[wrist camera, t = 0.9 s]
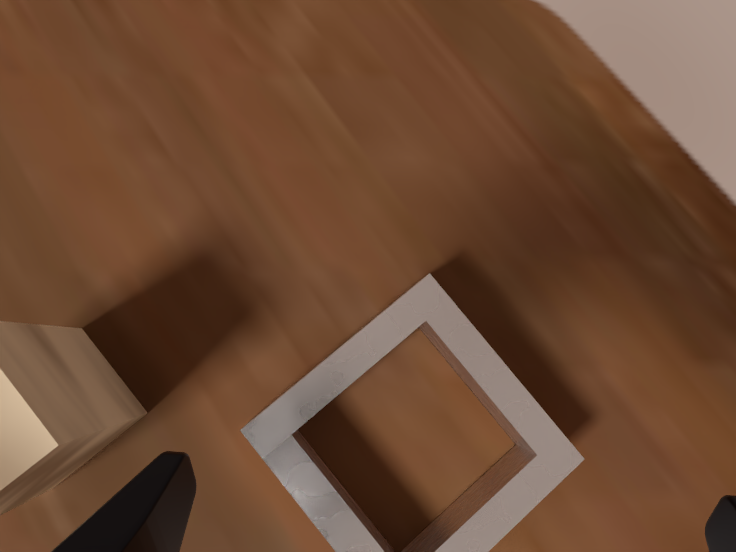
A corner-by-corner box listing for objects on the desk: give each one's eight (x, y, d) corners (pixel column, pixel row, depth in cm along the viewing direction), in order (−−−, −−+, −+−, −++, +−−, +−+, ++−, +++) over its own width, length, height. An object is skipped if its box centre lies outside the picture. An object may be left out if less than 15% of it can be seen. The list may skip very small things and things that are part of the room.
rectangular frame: (393, 604, 23) (401, 635, 21) (248, 421, 24) (240, 430, 21) (558, 448, 25) (584, 459, 22) (419, 280, 25) (429, 273, 23)
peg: (53, 487, 23) (-91, 561, 15) (-14, 399, 23) (-190, 425, 15) (147, 412, 24) (58, 445, 16) (81, 328, 24) (-39, 317, 16)
